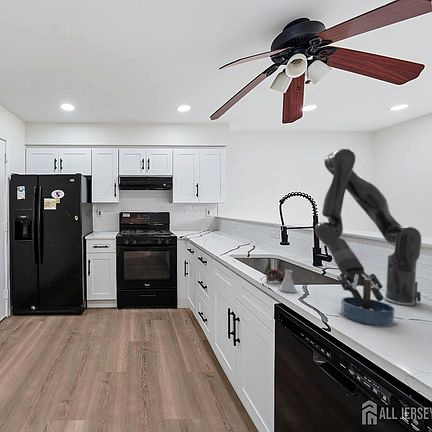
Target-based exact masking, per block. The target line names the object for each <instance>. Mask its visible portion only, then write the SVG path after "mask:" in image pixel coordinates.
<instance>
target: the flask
mask: <svg viewBox="0 0 432 432" xmlns="http://www.w3.org/2000/svg"><path fill="white" fill-rule="evenodd" d="M284 272H285V273H284V276H285V277H284V280H283V282H281V285H280V287H279V291H282V292H286V293H296V292H297V291H296V286H295V284H294V281H293V276H292V273H293V270H292V269H284Z"/></svg>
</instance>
